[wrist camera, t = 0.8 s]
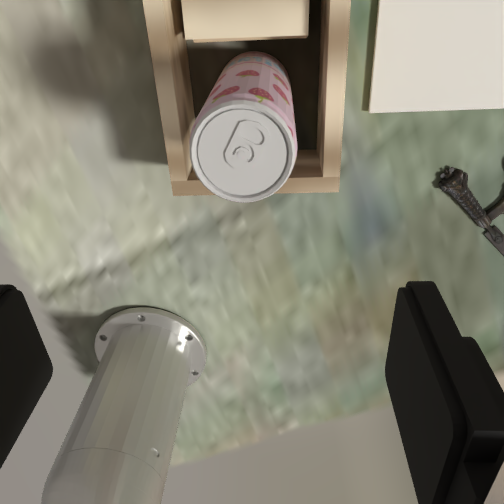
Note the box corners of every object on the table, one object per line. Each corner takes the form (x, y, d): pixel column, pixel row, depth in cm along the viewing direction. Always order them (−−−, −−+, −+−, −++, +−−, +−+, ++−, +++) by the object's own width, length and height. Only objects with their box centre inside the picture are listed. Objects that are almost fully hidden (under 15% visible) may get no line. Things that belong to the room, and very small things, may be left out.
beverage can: (293, 51, 33) (303, 99, 20) (288, 126, 36) (294, 209, 23) (218, 49, 33) (181, 95, 20) (219, 124, 36) (188, 205, 23)
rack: (330, 162, 37) (338, 192, 32) (186, 166, 38) (173, 195, 33) (345, -133, 27) (360, -158, 22) (148, -119, 28) (120, -140, 23)
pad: (524, 105, 34) (527, 107, 34) (368, 111, 35) (369, 112, 35) (578, -88, 28) (582, -89, 27) (385, -76, 29) (387, -77, 28)
